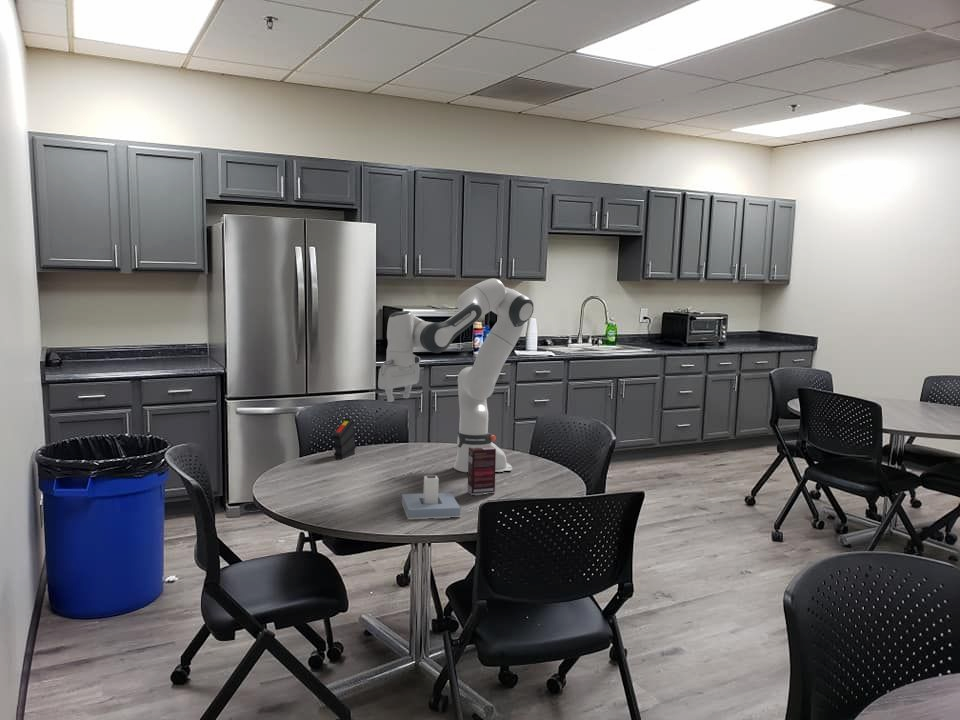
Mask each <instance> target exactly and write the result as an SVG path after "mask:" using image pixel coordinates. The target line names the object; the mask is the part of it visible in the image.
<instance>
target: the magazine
mask: <svg viewBox="0 0 960 720" xmlns="http://www.w3.org/2000/svg"><path fill="white" fill-rule="evenodd" d="M353 424H354V421H353V420H352V418H344V419H343V420H342V421H341V422H340V424H338V426H337V427H336V428H335V430H334V431H333V432H332V436H331V439H333V441H334V444H333V446H332V447H333V448H334V453H333V456H334V459H335V458H337V459H336V460H344V459H346V458H349V457H350V456H353V455H355V454H356V452H355V449H356V448H357V445H356V443H355V442H356V441H355V435H356V431H354V426H353ZM343 458H344V459H343Z"/></svg>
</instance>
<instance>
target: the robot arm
mask: <svg viewBox="0 0 960 720" xmlns="http://www.w3.org/2000/svg"><path fill="white" fill-rule="evenodd" d="M456 307H457V311H458V312H456V313H454V315H452V316H451V317H449V318H448V319H446V320H445V321H440V322H432V321H425V319H422V318H419V317H417V316H416V315H414V314H413V312H411V311H409V310H403V311H395V312H393V313H391V314H390V315H389V318H388V321H387V330H386V339H387V348H386V359H385V361H383V363H382V365H380V369H379V372H378V379H377V387H378V389H380V390H385V394H386V397H387V400H386V401H387V402H388V403H392V402H394V401H395V396H394V395H393V392H394V389H396V388H397V389H398V388H403V387H404V391H403V392H402V398H403V399H409V398H410V396H411V395H410V394H411V391H412V387H413V385H416V384H417V385H418V383H419V381H420V370H421V369H420V365H419V364H420V363H421V357H420V356H417V355H416V354H414V348H416V349H418V350H419V349H420V350H424V351H428V352H431V353H434V354H440V353H442V352H444V351H446V350H447V349H448V348H449V346H450V345H451V344H452V343H453V342H454V340H455V339H456V338H457V337H458V336H459V335H461V334H462V333H463V332H465V331H466V330H467V329H469V328H470V327H471V326H472V325H474V324H475V323H476V322H477V321H478V320H479V319H480V318H482V317H484V316H485V315H487V314H488V313H490V312H492V313H494V314H496V315H497V316H498V319H497V321H496V322H495V324H494V325H493V326H492V328H491V329H490V330H489V332H488V334H487V335H486V337H485V338H484V340H483V342H482V344H481V346H480V347H479V349H478V351H477V355H476V357H475V360H474V362H473V365H472V366H466V367H464V368H463V369H461V370H460V372H459V373H458V376H457V393H458V406H459V427H458V429H459V430H458V432H457V441H456V442H457V443H456V444H457V445H456V446H457V453H456V458H455V462H454V465H453V469H455V470H456V471H459V472H462V473H467V472H468V455H469V447H485V446H492V447H494V448H495V449H496V464H495V472H503V471H510V470H512V471H513V466H512V465H511V464H510V463H509V462H507V457H506V454H505V452H504V451H503V450H502V449H501V448H500V447H498V445H496V444H495V443H493V442H495V441H496V439H497V437H496V435H494V434H491V433H490V432H489V430H488V429H489V408H488V403H487V402H488V401H487V399H488V398H489V397H491V396H492V395H493V393H494V391H495V386H496V384H497V381H498V379H499V377H500V375H501V372H502V369H503V367H504V365H505V363H506V362H507V359H508V358H509V356H510V355H511V352H512V351H513V350H514V348H515V346H516V345H517V343H518V341H519V339H520V337H521V335H522V332H523V329H524V326H525V325H524V324H525V323H527V322H528V321H529V320H530V319H531V317H532V316H533V313H534V303H533V300H532V299H531V298H529V297H528V296H527V295H525V294H522V293H521V292H520V291H517V290H515V289H513V288H509V287H507V286H506V287H505V285H504V283H503V282H502V281H501V280H499V279H498V278H495V277H494V278H488V279H485V280H482V281H481V282H478V283H476V284H474V285H472V286H471V287H469V288H468V289H465V290H464V291H463V292H462V293H461V294H460V295H459V296H458V297H457V301H456ZM503 473H504V472H503Z"/></svg>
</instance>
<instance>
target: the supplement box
mask: <svg viewBox="0 0 960 720" xmlns="http://www.w3.org/2000/svg"><path fill="white" fill-rule="evenodd" d="M495 464H496V449H495V448H494V447H492V446H485V447H469V455H468V473H467V493H468V492H469V493H470V494H471V495H470V494H469V493H468V494H469V495H470V496H472V495H475V496H479V495H478V494H484V493H495V492H496V473H495Z"/></svg>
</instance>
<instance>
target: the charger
mask: <svg viewBox="0 0 960 720" xmlns="http://www.w3.org/2000/svg"><path fill="white" fill-rule="evenodd" d="M439 481H440V479H439V477H438V475H436V474H426V475H424V476H423V493H424V495H423V504H438V493H439Z"/></svg>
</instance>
